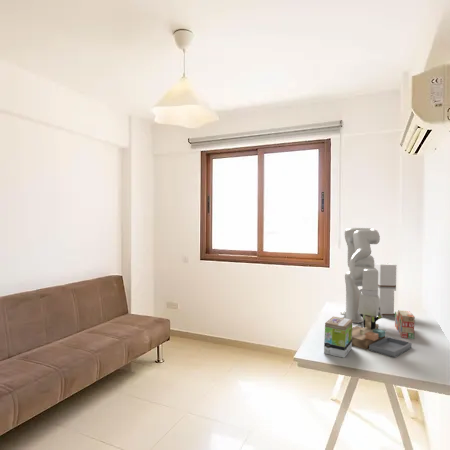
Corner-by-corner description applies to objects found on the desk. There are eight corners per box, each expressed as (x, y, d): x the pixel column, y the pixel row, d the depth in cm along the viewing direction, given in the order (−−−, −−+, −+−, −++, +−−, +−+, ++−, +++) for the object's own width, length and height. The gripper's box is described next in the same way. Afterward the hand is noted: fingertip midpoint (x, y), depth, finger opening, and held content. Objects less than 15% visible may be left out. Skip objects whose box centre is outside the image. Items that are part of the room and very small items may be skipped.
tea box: (345, 358, 153) (346, 326, 153) (323, 353, 158) (323, 322, 158) (352, 348, 166) (352, 318, 166) (331, 344, 171) (332, 315, 171)
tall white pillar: (395, 317, 225) (396, 264, 225) (379, 316, 225) (380, 264, 225) (387, 312, 236) (388, 263, 236) (372, 312, 236) (373, 262, 236)
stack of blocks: (394, 326, 204) (394, 306, 204) (406, 327, 202) (406, 307, 202) (401, 337, 183) (401, 315, 183) (414, 339, 181) (414, 316, 181)
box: (369, 350, 164) (369, 345, 164) (387, 341, 177) (387, 336, 177) (394, 357, 155) (394, 352, 155) (411, 347, 168) (411, 342, 168)
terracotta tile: (365, 338, 169) (365, 333, 169) (369, 336, 172) (369, 331, 172) (374, 340, 166) (374, 335, 166) (378, 338, 168) (378, 333, 168)
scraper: (358, 334, 170) (359, 318, 170) (373, 327, 180) (373, 312, 180) (364, 335, 167) (364, 319, 167) (379, 329, 178) (379, 314, 178)
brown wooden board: (337, 340, 176) (337, 333, 176) (356, 333, 190) (356, 326, 190) (367, 349, 164) (367, 341, 164) (385, 340, 178) (385, 333, 178)
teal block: (372, 334, 174) (372, 330, 174) (376, 333, 177) (376, 328, 177) (381, 337, 171) (381, 332, 171) (385, 335, 174) (385, 330, 174)
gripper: (351, 291, 178) (351, 325, 178) (382, 296, 165) (382, 333, 165) (358, 289, 182) (358, 323, 182) (389, 294, 170) (388, 330, 170)
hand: (369, 327), depth 174 cm, fingers closed on scraper, 3 cm apart
